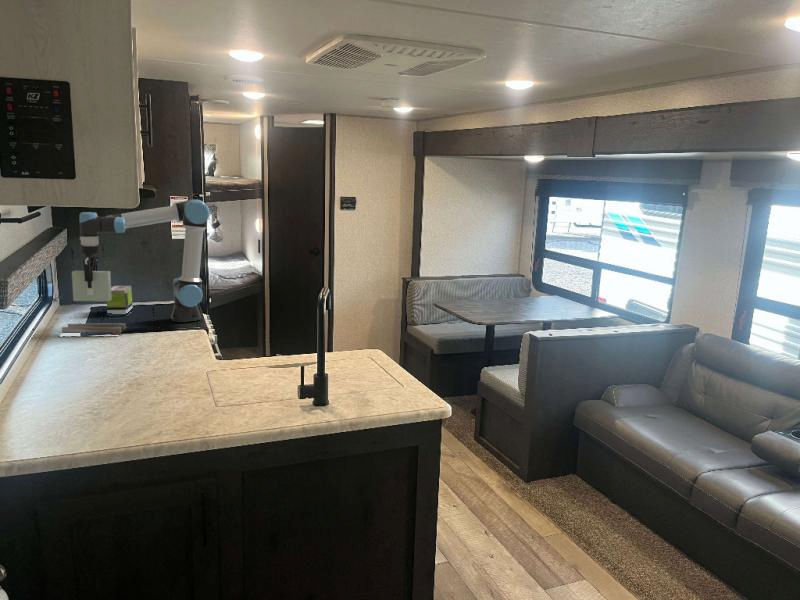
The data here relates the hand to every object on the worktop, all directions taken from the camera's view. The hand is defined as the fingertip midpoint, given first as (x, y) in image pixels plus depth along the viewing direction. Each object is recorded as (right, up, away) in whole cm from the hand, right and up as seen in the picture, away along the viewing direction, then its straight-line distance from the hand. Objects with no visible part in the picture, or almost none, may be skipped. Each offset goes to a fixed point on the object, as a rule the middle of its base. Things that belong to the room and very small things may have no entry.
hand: (92, 293), depth 292 cm
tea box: (-8, -11, +46) cm, 48 cm away
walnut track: (0, -19, +2) cm, 19 cm away
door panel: (0, -3, +1) cm, 3 cm away
